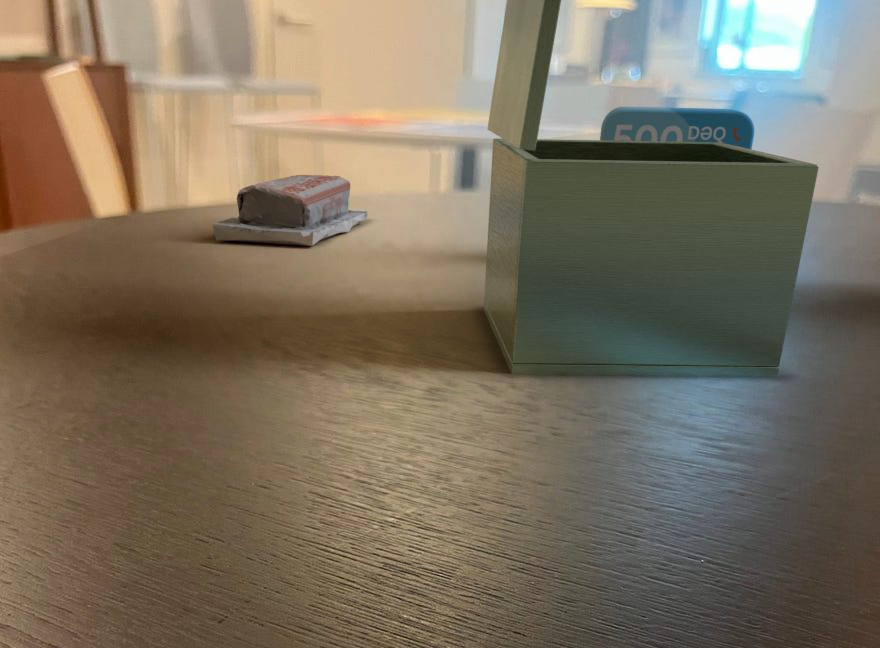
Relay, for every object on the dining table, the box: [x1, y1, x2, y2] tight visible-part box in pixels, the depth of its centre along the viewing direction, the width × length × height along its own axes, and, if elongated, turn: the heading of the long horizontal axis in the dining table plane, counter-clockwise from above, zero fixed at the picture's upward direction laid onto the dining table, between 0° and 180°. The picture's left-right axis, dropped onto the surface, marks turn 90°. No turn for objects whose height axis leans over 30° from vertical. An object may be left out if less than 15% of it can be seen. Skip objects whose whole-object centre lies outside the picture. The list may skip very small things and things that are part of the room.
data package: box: [599, 106, 755, 150], centre depth 86 cm, size 12×4×12 cm, turn 82°
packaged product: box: [212, 174, 369, 247], centre depth 100 cm, size 18×5×10 cm
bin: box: [483, 138, 820, 378], centre depth 60 cm, size 15×17×11 cm
